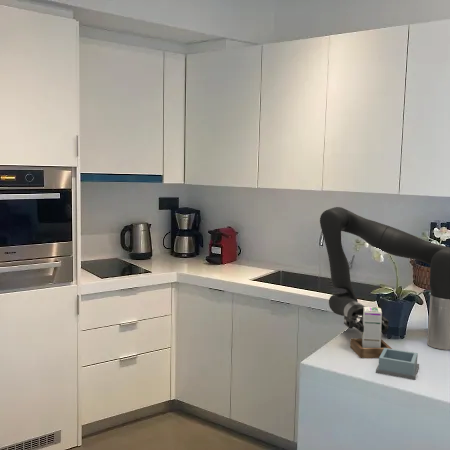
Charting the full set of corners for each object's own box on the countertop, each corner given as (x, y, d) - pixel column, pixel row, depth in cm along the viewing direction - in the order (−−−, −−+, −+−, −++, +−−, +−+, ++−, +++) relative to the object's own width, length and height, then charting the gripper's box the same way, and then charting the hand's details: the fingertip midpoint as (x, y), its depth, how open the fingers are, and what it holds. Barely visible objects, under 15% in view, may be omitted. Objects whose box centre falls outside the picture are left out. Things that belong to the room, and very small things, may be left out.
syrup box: (380, 356, 175) (383, 312, 174) (361, 354, 177) (363, 310, 175) (379, 350, 181) (381, 307, 179) (360, 348, 182) (363, 305, 180)
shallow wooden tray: (379, 347, 184) (380, 338, 184) (391, 357, 174) (392, 348, 174) (350, 347, 183) (350, 338, 183) (360, 358, 173) (360, 349, 173)
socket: (381, 360, 172) (382, 346, 171) (419, 367, 167) (420, 352, 166) (375, 372, 162) (376, 358, 161) (415, 379, 157) (416, 364, 157)
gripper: (337, 304, 191) (352, 317, 175) (378, 304, 192) (396, 317, 176) (336, 325, 192) (351, 340, 175) (376, 324, 193) (395, 340, 177)
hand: (374, 329), depth 176 cm, fingers closed on syrup box, 7 cm apart
